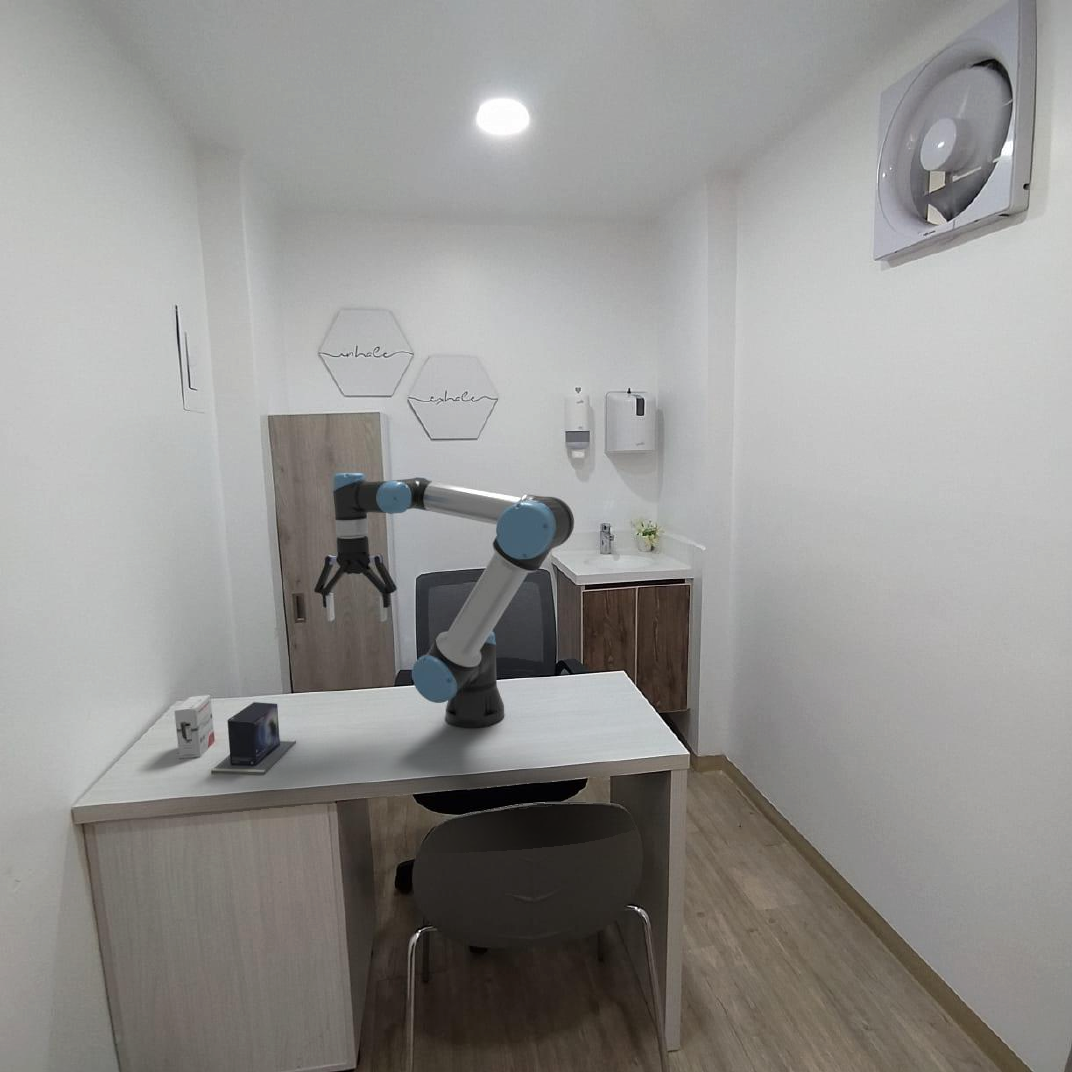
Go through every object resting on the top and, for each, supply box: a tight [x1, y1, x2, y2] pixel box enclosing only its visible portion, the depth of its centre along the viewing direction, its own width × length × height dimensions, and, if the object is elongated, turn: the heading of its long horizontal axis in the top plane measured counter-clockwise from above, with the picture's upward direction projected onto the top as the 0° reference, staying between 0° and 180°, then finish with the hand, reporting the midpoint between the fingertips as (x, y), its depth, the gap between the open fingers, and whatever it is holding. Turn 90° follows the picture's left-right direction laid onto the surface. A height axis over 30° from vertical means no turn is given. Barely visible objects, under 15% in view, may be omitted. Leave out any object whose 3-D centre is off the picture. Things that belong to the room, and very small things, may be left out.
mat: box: [210, 739, 297, 776], centre depth 146 cm, size 12×15×1 cm
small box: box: [226, 701, 281, 766], centre depth 145 cm, size 11×6×10 cm, turn 172°
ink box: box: [173, 694, 216, 759], centre depth 150 cm, size 9×5×12 cm, turn 5°
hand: (357, 620), depth 160 cm, fingers open, 13 cm apart
